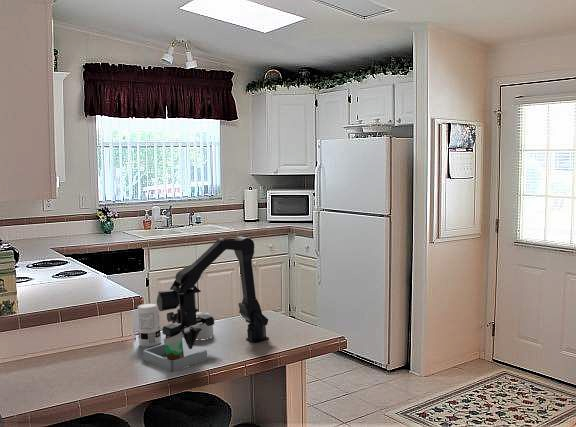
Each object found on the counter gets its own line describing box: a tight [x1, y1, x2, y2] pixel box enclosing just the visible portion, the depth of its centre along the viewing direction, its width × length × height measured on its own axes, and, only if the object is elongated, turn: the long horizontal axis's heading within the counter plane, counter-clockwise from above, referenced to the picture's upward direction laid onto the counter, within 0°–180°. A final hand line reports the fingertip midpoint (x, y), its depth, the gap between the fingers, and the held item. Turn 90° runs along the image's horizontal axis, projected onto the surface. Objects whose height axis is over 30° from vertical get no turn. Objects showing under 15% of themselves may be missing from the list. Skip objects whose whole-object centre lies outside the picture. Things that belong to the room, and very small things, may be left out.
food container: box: [163, 331, 185, 361], centre depth 207 cm, size 12×6×10 cm, turn 7°
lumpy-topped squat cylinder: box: [196, 311, 214, 340], centre depth 235 cm, size 10×13×9 cm
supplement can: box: [136, 302, 162, 348], centre depth 227 cm, size 8×8×15 cm
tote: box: [141, 343, 208, 373], centre depth 208 cm, size 14×19×4 cm
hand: (190, 348), depth 213 cm, fingers closed, pressing on food container
